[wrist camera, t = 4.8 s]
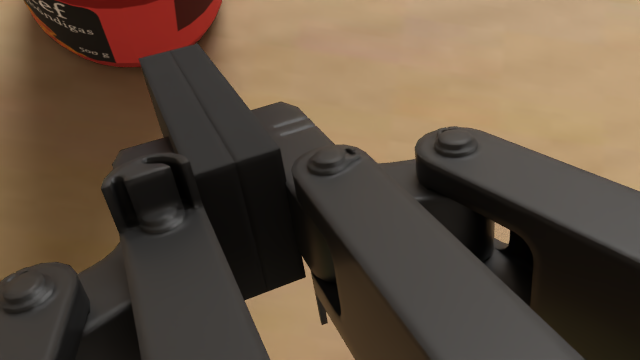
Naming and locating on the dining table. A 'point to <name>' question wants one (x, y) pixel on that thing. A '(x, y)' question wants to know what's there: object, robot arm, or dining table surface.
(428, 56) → the dining table surface
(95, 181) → the dining table surface
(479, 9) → the dining table surface
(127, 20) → the canned food
